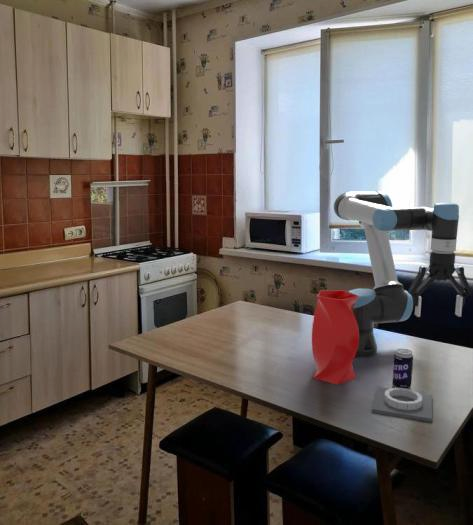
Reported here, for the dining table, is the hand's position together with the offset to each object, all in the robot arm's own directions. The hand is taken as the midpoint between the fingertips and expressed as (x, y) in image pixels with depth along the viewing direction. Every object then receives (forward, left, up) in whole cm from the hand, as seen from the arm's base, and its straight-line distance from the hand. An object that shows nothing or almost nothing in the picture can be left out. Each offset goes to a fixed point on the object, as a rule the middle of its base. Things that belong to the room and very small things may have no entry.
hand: (437, 315), depth 166 cm
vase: (-31, -11, -21) cm, 39 cm away
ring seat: (-8, -26, -21) cm, 34 cm away
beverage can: (-9, -13, -21) cm, 27 cm away
